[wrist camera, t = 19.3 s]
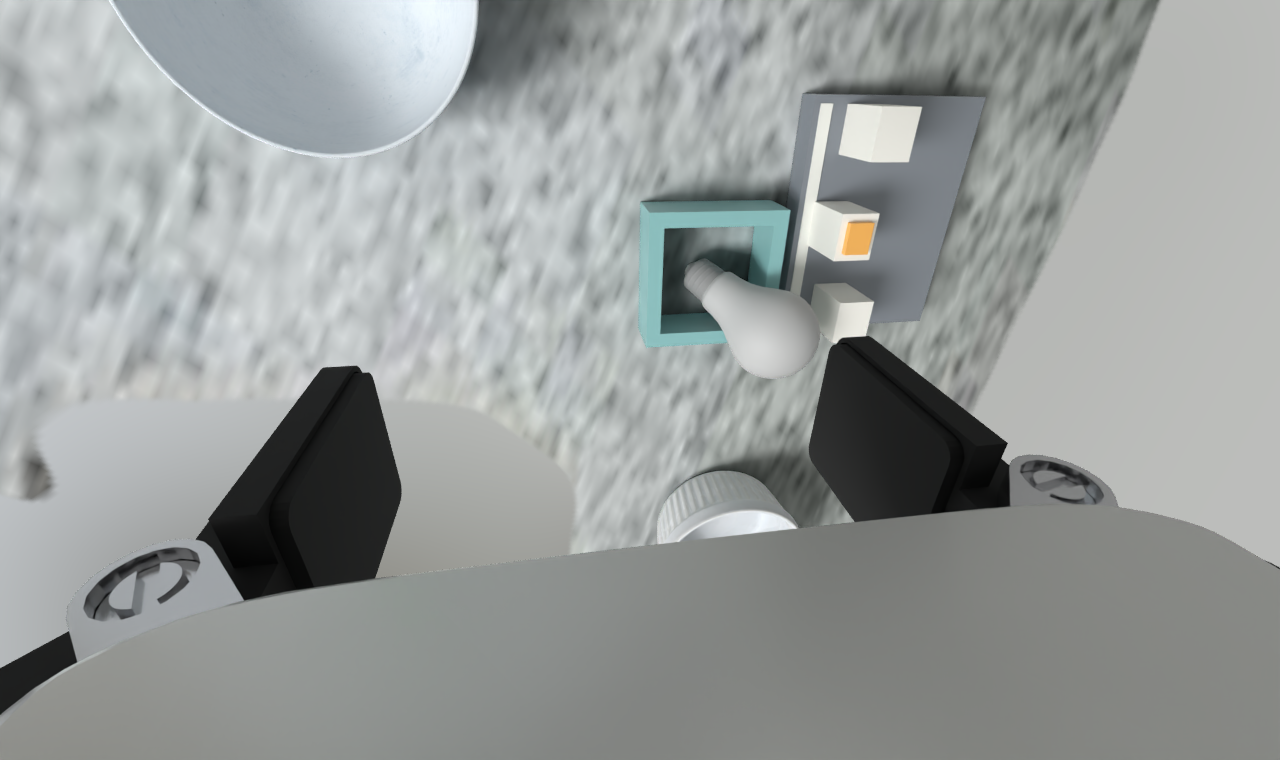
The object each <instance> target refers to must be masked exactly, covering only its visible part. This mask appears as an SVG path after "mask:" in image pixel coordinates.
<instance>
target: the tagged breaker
mask: <svg viewBox="0 0 1280 760" xmlns="http://www.w3.org/2000/svg"><path fill="white" fill-rule="evenodd" d="M879 215H880V213H877V212H875V211H872V210H870V209H867V208H865V207H862V206H859V205H857V204H854V203H852V202H849V201H818V202H814V207H813V213H812V219H811V225H810V230H809V236H808V242H807V245H808V246H810V247H811V248H813V249H814V250H816V251H818V252H819V253H821V254H823V255H824V256H826V257H827V258H829V259H831V260H832V261H857V260H869V257H870V253H871V249H872V245H873V240H874V236H875V232H876V227H877V223H878V219H879Z"/></svg>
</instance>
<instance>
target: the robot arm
mask: <svg viewBox="0 0 1280 760" xmlns="http://www.w3.org/2000/svg"><path fill="white" fill-rule="evenodd" d="M1007 444H1008V443H1007V442H1006V441H1004V440H1003V439H1002V438H1000V437H999V436H998V435H997V434H995V433H994V432H993V431H991V430H990V429H989V428H987V427H986V426H985V425H984V424H982V423H981V422H980V421H979V420H977V419H976V418H975V417H973V416H972V415H971V414H970V413H968V412H967V411H966V410H964V409H963V408H962V407H961V406H959V405H958V404H957V403H955V402H954V401H953V400H951V399H950V398H949V397H948V396H946V395H945V394H944V393H942V392H941V391H940V390H939V389H937V388H936V387H935V386H933V385H932V384H931V383H930V382H928V381H927V380H926V379H924V378H923V377H922V376H921V375H919V374H918V373H917V372H915V371H914V370H913V369H912V368H910V367H909V366H908V365H906V364H905V363H904V362H903V361H901V360H900V359H899V358H897V357H896V356H895V355H894V354H892V353H891V352H890V351H888V350H887V349H886V348H884V347H883V346H882V345H881V344H879V343H878V342H877V341H875V340H874V339H873V338H871V337H869V336H861V337H844V338H841V339H840V340H839V341H838V343H837V345H833V346H832V347H831V348H830V351H829V355H828V359H827V364H826V369H825V374H824V378H823V383H822V388H821V392H820V397H819V402H818V406H817V411H816V416H815V420H814V425H813V430H812V434H811V439H810V444H809V455H810V458H811V461H812V463H813V464H814V465H815V467H816V468H817V470H818V471H819V472H820V474H821V475H822V477H823V478H824V479H825V481H826V482H827V484H828V485H829V486H830V488H831V489H832V491H833V492H834V493H835V495H836V496H837V498H838V499H839V501H840V502H841V503H842V505H843V506H844V508H845V509H846V510H847V512H848V513H849V515H850V516H851V517H852V519H853V520H854V522H852V523H842V524H833V525H824V526H815V527H806V528H797V529H787V530H778V531H769V532H760V533H751V534H742V535H734V536H725V537H716V538H707V539H699V540H690V541H682V542H673V543H664V544H656V545H647V546H639V547H630V548H622V549H613V550H605V551H596V552H588V553H580V554H571V555H563V556H555V557H547V558H539V559H530V560H523V561H514V562H506V563H498V564H490V565H482V566H473V567H465V568H457V569H449V570H441V571H433V572H424V573H416V574H407V575H399V576H391V577H383V578H375V577H376V574H377V571H378V568H379V564H380V562H381V559H382V556H383V553H384V549H385V547H386V544H387V540H388V537H389V534H390V531H391V528H392V525H393V522H394V519H395V516H396V513H397V510H398V507H399V504H400V500H401V482H400V478H399V474H398V471H397V467H396V464H395V459H394V456H393V452H392V448H391V444H390V440H389V437H388V433H387V429H386V426H385V421H384V418H383V414H382V410H381V406H380V403H379V399H378V395H377V391H376V387H375V384H374V380H373V377H372V375H371V374H370V373H362V371H361V370H360V368H359V367H358V366H343V367H326V368H322V369H321V370H320V371H319V373H318V374H317V375H316V377H315V378H314V379H313V381H312V382H311V383H310V385H309V386H308V387H307V389H306V390H305V391H304V393H303V394H302V395H301V397H300V398H299V399H298V401H297V402H296V403H295V405H294V406H293V407H292V409H291V410H290V411H289V413H288V414H287V415H286V417H285V418H284V419H283V421H282V422H281V423H280V425H279V426H278V427H277V429H276V430H275V431H274V433H273V434H272V435H271V437H270V438H269V439H268V441H267V442H266V443H265V445H264V446H263V447H262V449H261V450H260V451H259V452H258V454H257V455H256V456H255V458H254V459H253V461H252V462H251V463H250V465H249V466H248V467H247V469H246V470H245V471H244V472H243V474H242V475H241V476H240V478H239V479H238V480H237V482H236V483H235V484H234V486H233V487H232V488H231V490H230V491H229V492H228V494H227V495H226V496H225V498H224V499H223V500H222V502H221V503H220V505H219V506H218V507H217V508H216V510H215V511H214V512H213V514H212V515H211V516H210V518H209V519H208V520H209V522H208V524H207V525H206V526H205V528H204V529H203V530H202V532H201V533H200V534H199V536H198V537H197V538H196V540H194V539H175V540H169V541H166V542H161V543H156V544H152V545H150V546H147V547H144V548H142V549H139V550H137V551H134V552H132V553H130V554H128V555H126V556H124V557H122V558H120V559H118V560H116V561H114V562H113V563H111V564H109V565H108V566H106V567H105V568H103V569H102V570H101V571H99V572H98V573H96V574H95V575H94V576H92V577H91V578H90V579H89V580H88V581H87V582H86V583H85V584H84V585H83V586H82V587H81V588H80V589H79V590H78V591H77V592H76V593H75V595H74V596H73V598H72V600H71V601H70V603H69V605H68V606H67V615H66V621H67V625H68V629H69V631H68V632H67V633H65V634H63V635H61V636H59V637H57V638H56V639H54V640H52V641H50V642H48V643H46V644H44V645H43V646H41V647H39V648H37V649H35V650H33V651H31V652H30V653H28V654H26V655H24V656H22V657H20V658H19V659H17V660H15V661H13V662H11V663H9V664H7V665H6V666H4V667H2V668H0V760H1280V568H1279V567H1277V566H1275V565H1274V564H1272V563H1269V562H1267V561H1265V560H1263V559H1261V558H1259V557H1258V556H1256V555H1254V554H1253V553H1251V552H1249V551H1247V550H1246V549H1244V548H1242V547H1240V546H1239V545H1237V544H1236V543H1234V542H1232V541H1230V540H1228V539H1226V538H1225V537H1223V536H1221V535H1219V534H1217V533H1215V532H1213V531H1210V530H1208V529H1206V528H1204V527H1201V526H1198V525H1195V524H1192V523H1188V522H1185V521H1182V520H1178V519H1174V518H1170V517H1166V516H1162V515H1158V514H1154V513H1149V512H1143V511H1138V510H1132V509H1126V508H1120V507H1118V504H1117V500H1116V497H1115V496H1114V494H1113V492H1112V490H1111V489H1110V488H1109V487H1108V486H1107V485H1106V484H1105V483H1104V482H1103V481H1102V480H1101V479H1099V478H1098V477H1096V476H1095V475H1093V474H1091V473H1090V472H1088V471H1087V470H1085V469H1083V468H1081V467H1079V466H1076V465H1074V464H1072V463H1069V462H1066V461H1063V460H1060V459H1057V458H1053V457H1048V456H1043V455H1024V456H1018V457H1016V458H1015V459H1013V460H1012V461H1011V463H1010V465H1008V464H1007V463H1006V462H1005V461H1003V460H1002V459H1001V458H1002V455H1003V453H1004V450H1005V448H1006V446H1007Z"/></svg>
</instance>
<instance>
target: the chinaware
mask: <svg viewBox="0 0 1280 760" xmlns="http://www.w3.org/2000/svg"><path fill="white" fill-rule="evenodd" d="M109 1H110V3H111V5H112V6H113V8H114V10H115V11H116V13H117V15H118V16H119V18H120V19H121V21H122V22H123V24H124V25H125V27H126V28H127V30H128V31H129V32H130V34H131V35H132V36H133V38H134V39H135V40H136V42H137V43H138V44H139V46H140V47H141V48H142V49H143V51H144V52H145V53H146V54H147V55H148V57H149V58H150V59H151V60H152V61H153V62H154V63H155V65H156V66H157V67H158V68H159V69H160V70H161V71H162V72H163V73H164V74H165V75H166V76H167V77H168V78H169V79H170V80H171V81H172V82H173V83H174V84H175V85H176V86H177V87H178V88H180V89H181V90H182V91H183V92H184V93H185V94H186V95H188V96H189V97H190V98H191V99H192V100H194V101H195V102H196V103H197V104H199V105H200V106H201V107H203V108H204V109H205V110H207V111H208V112H210V113H211V114H212V115H214V116H215V117H217V118H218V119H220V120H221V121H223V122H225V123H226V124H228V125H230V126H231V127H233V128H235V129H237V130H238V131H240V132H242V133H244V134H246V135H248V136H250V137H252V138H255V139H257V140H259V141H262V142H264V143H266V144H269V145H272V146H274V147H277V148H280V149H284V150H287V151H290V152H294V153H299V154H303V155H308V156H315V157H324V158H353V157H362V156H368V155H373V154H376V153H380V152H383V151H387V150H389V149H392V148H394V147H397V146H399V145H401V144H403V143H405V142H407V141H409V140H410V139H412V138H414V137H415V136H417V135H418V134H420V133H421V132H422V131H424V130H425V129H426V128H427V127H428V126H430V125H431V124H432V123H433V122H434V121H435V120H436V119H437V118H438V117H439V116H440V115H441V113H442V112H443V111H444V110H445V109H446V107H447V106H448V105H449V103H450V102H451V100H452V99H453V97H454V96H455V94H456V92H457V91H458V89H459V87H460V85H461V83H462V81H463V79H464V76H465V74H466V71H467V69H468V66H469V63H470V60H471V57H472V53H473V49H474V44H475V39H476V33H477V25H478V13H479V0H109Z"/></svg>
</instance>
